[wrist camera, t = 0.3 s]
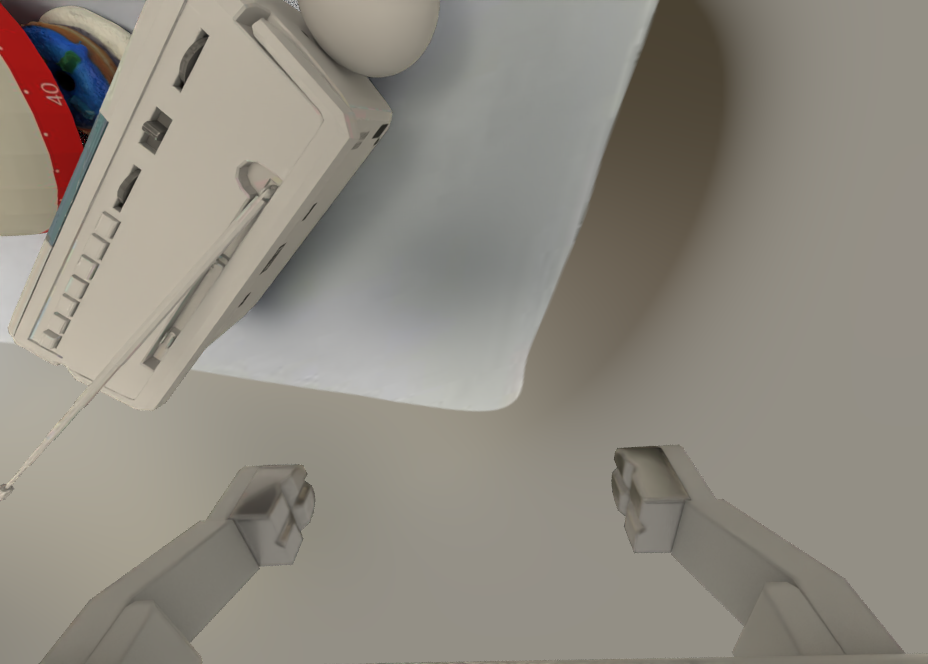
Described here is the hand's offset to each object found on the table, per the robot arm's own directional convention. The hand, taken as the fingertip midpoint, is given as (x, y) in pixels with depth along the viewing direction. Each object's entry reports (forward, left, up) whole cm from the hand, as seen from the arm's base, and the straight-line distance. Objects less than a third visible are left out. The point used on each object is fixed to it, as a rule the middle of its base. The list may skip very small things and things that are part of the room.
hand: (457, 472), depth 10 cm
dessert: (+5, -25, -22) cm, 34 cm away
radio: (+5, -13, -23) cm, 27 cm away
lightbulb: (-8, -11, -23) cm, 26 cm away
